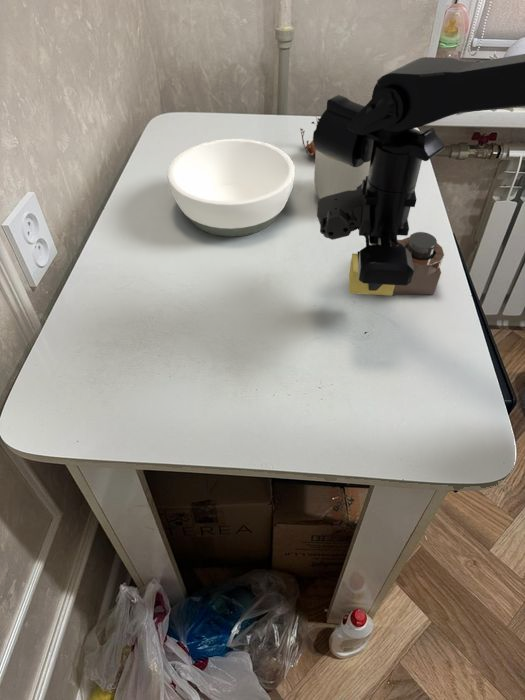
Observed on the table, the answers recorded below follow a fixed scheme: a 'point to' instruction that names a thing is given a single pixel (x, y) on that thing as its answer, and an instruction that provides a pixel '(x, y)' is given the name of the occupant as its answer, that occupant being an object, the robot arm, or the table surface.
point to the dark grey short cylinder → (422, 245)
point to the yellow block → (362, 288)
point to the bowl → (231, 185)
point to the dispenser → (423, 273)
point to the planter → (336, 175)
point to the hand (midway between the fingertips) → (371, 279)
